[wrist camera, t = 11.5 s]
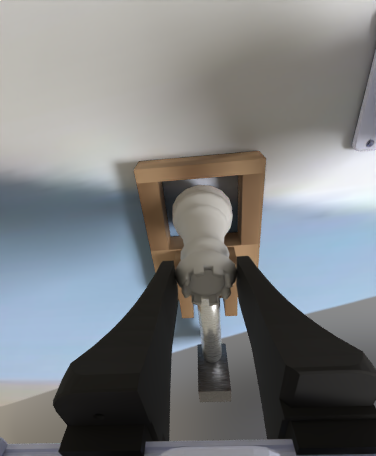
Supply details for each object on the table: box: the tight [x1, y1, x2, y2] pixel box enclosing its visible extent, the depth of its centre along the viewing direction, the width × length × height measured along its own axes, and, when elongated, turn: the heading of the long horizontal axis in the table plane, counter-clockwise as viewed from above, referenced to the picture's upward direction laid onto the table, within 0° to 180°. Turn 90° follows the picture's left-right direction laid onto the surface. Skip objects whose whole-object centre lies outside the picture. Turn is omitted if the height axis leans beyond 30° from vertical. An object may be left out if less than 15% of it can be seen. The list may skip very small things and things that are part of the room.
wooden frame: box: [134, 151, 266, 318], centre depth 20 cm, size 9×13×4 cm
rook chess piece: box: [172, 185, 237, 306], centre depth 15 cm, size 4×4×8 cm
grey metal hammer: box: [198, 296, 231, 402], centre depth 22 cm, size 3×14×5 cm, turn 5°
